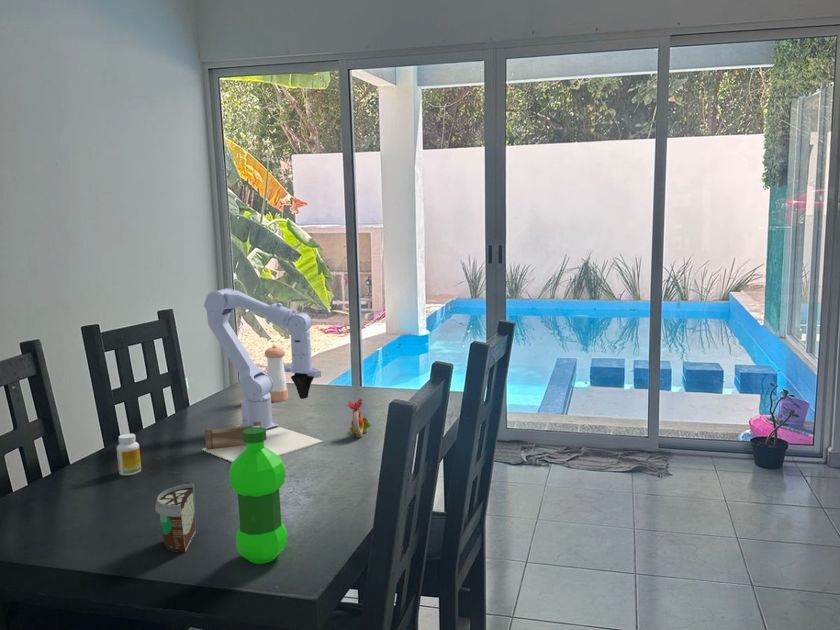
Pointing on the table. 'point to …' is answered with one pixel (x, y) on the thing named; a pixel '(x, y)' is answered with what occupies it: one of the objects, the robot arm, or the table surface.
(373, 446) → the table surface
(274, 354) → the pepper shaker
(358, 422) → the bird rattle
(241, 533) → the plastic bottle
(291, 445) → the board
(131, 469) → the supplement bottle
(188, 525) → the food container
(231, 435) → the bar
